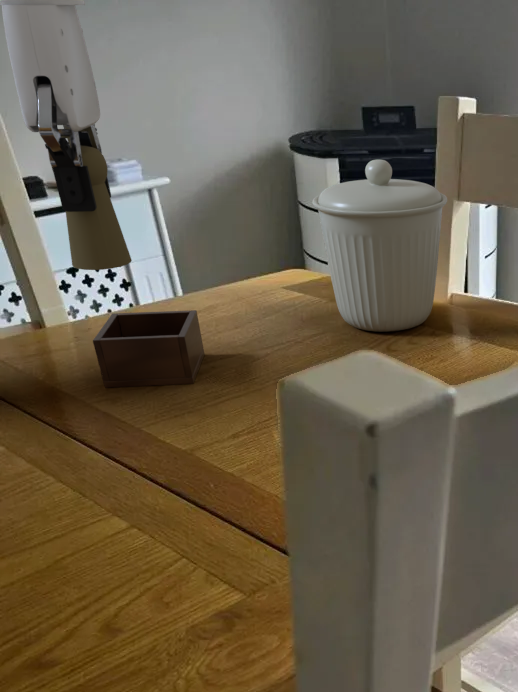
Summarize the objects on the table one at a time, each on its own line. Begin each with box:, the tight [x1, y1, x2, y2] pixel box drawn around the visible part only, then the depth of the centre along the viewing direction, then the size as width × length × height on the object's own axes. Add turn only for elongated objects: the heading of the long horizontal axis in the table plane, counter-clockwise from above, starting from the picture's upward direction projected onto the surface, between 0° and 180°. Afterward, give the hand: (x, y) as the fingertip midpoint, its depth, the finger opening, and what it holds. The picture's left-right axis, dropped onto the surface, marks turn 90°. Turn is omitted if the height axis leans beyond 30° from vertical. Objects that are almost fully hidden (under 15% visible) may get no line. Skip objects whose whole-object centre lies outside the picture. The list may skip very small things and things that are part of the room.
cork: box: [51, 145, 133, 271], centre depth 85 cm, size 6×6×11 cm
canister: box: [311, 159, 448, 333], centre depth 114 cm, size 18×18×21 cm
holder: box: [92, 309, 205, 389], centre depth 103 cm, size 11×11×6 cm
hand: (87, 203), depth 85 cm, fingers closed on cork, 5 cm apart
